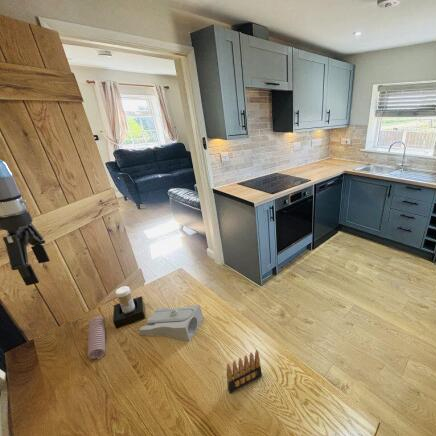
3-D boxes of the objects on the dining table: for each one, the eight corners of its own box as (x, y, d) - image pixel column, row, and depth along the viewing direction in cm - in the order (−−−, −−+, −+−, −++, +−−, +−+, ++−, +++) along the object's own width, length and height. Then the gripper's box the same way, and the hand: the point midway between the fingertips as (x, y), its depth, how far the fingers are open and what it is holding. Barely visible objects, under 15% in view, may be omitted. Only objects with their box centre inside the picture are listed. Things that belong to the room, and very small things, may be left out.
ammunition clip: (259, 371, 78) (258, 346, 73) (262, 376, 76) (260, 350, 72) (227, 388, 73) (223, 362, 68) (229, 393, 72) (225, 367, 67)
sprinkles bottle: (121, 318, 96) (112, 293, 91) (129, 310, 100) (121, 285, 95) (132, 319, 96) (123, 294, 90) (140, 311, 100) (131, 286, 95)
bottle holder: (115, 329, 92) (112, 321, 90) (116, 312, 100) (114, 305, 98) (145, 318, 97) (143, 311, 95) (144, 303, 104) (141, 296, 103)
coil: (104, 347, 80) (103, 313, 93) (86, 353, 77) (88, 318, 90) (106, 357, 82) (105, 322, 95) (89, 363, 79) (90, 327, 92)
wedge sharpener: (189, 341, 88) (186, 327, 85) (140, 334, 90) (135, 321, 87) (203, 318, 97) (201, 305, 95) (158, 312, 100) (154, 300, 97)
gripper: (12, 226, 62) (44, 290, 71) (39, 198, 81) (61, 251, 90) (-32, 232, 58) (8, 299, 67) (7, 202, 77) (34, 257, 86)
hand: (39, 272), depth 78 cm, fingers open, 13 cm apart
